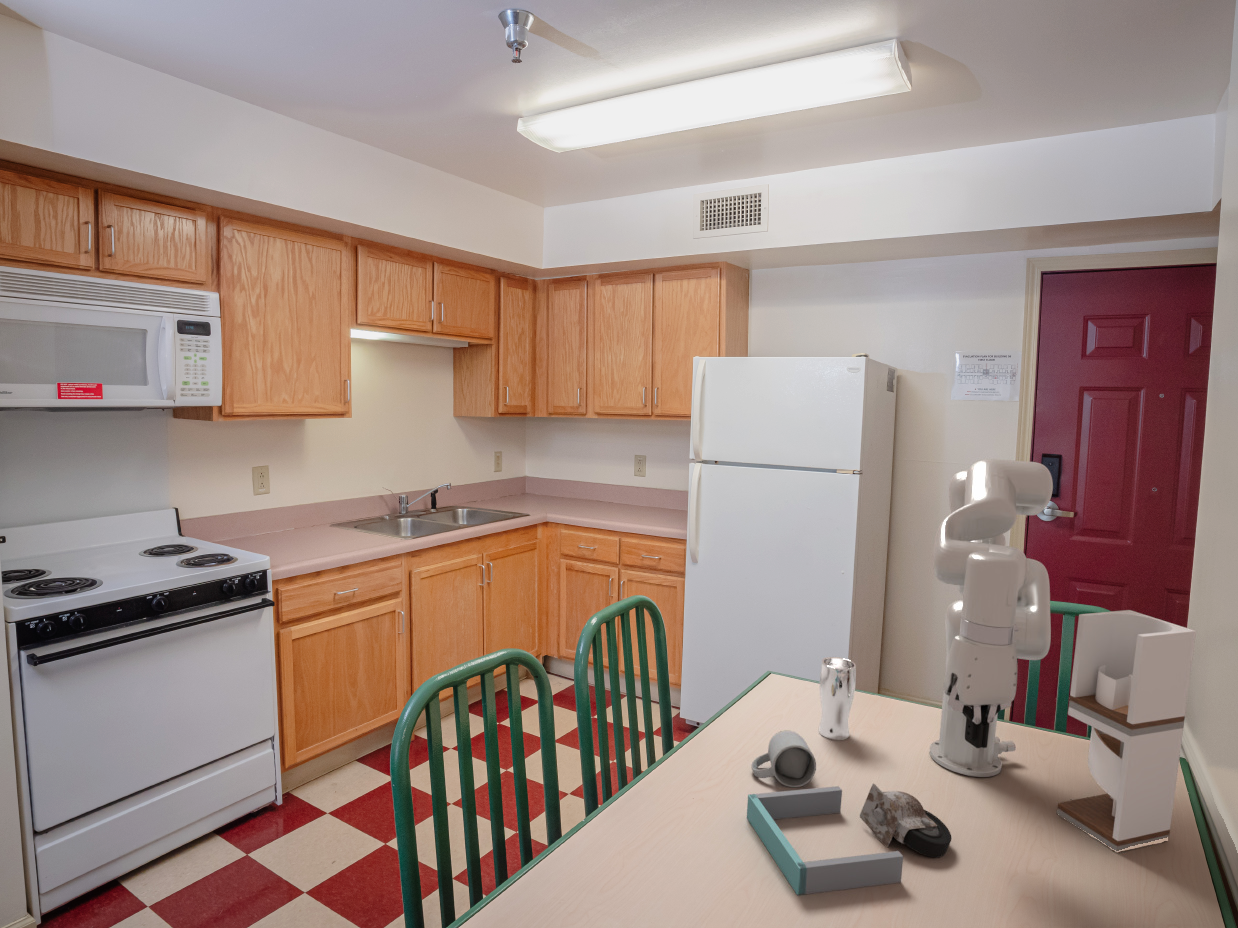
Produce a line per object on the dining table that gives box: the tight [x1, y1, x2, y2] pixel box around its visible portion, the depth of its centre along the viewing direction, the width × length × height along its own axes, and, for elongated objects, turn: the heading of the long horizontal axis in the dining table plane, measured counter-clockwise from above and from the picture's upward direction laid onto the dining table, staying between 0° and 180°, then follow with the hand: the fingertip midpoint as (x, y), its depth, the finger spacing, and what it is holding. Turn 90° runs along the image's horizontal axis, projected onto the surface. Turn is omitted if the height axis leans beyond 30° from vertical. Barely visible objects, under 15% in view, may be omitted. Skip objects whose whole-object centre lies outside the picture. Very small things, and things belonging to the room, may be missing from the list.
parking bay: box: [746, 785, 904, 896], centre depth 113 cm, size 16×18×4 cm
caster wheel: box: [859, 782, 952, 858], centre depth 116 cm, size 7×11×10 cm
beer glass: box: [818, 656, 857, 741], centre depth 149 cm, size 7×7×15 cm
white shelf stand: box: [1056, 609, 1197, 851], centre depth 119 cm, size 11×11×35 cm
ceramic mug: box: [751, 729, 817, 788], centre depth 133 cm, size 11×8×8 cm
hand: (975, 743), depth 116 cm, fingers closed
